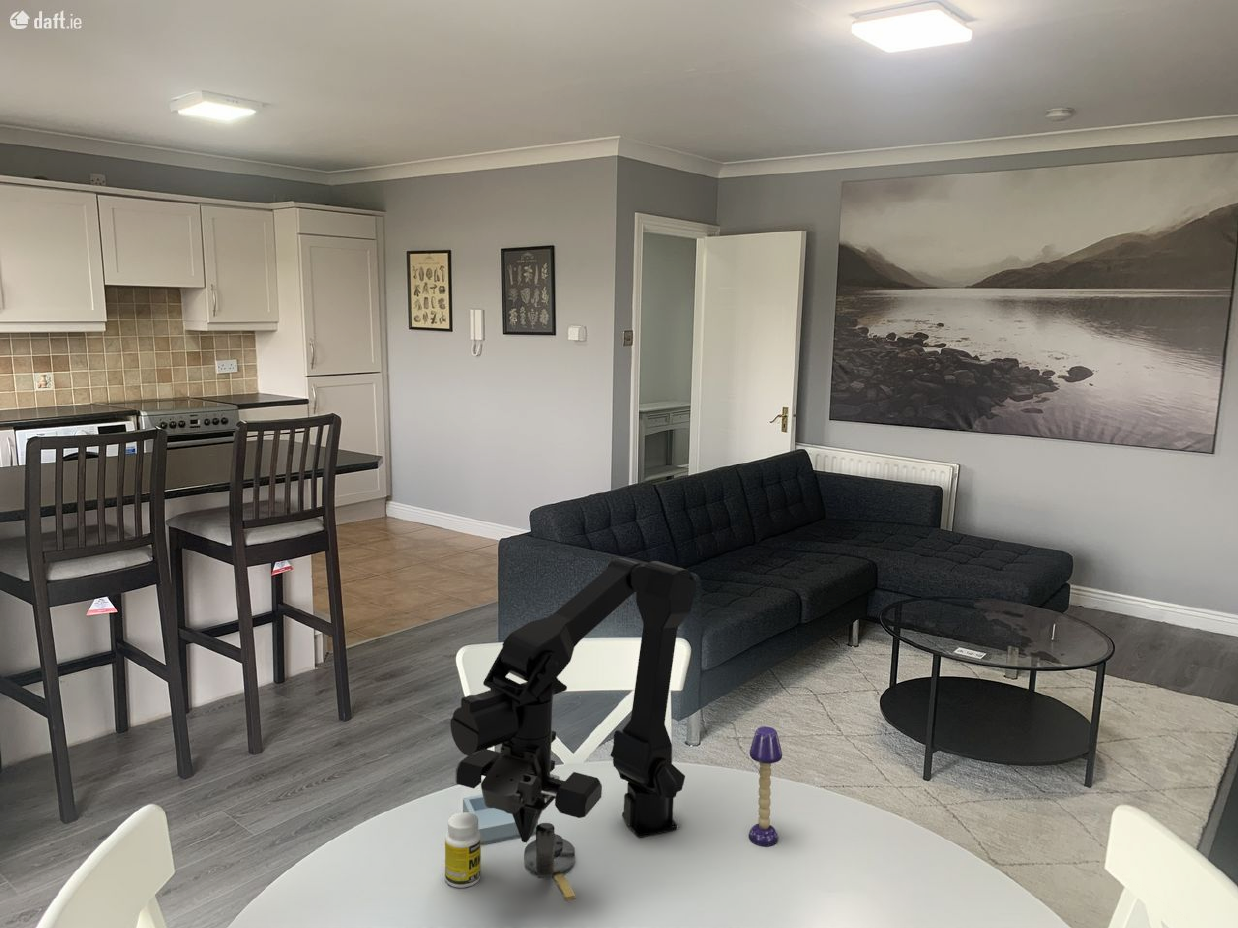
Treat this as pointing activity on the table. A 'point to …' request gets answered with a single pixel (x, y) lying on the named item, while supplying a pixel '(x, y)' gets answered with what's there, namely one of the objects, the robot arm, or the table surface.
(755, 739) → the toy lamp
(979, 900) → the table surface
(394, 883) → the table surface
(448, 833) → the supplement bottle
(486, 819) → the tray
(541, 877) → the crank
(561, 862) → the crank base
